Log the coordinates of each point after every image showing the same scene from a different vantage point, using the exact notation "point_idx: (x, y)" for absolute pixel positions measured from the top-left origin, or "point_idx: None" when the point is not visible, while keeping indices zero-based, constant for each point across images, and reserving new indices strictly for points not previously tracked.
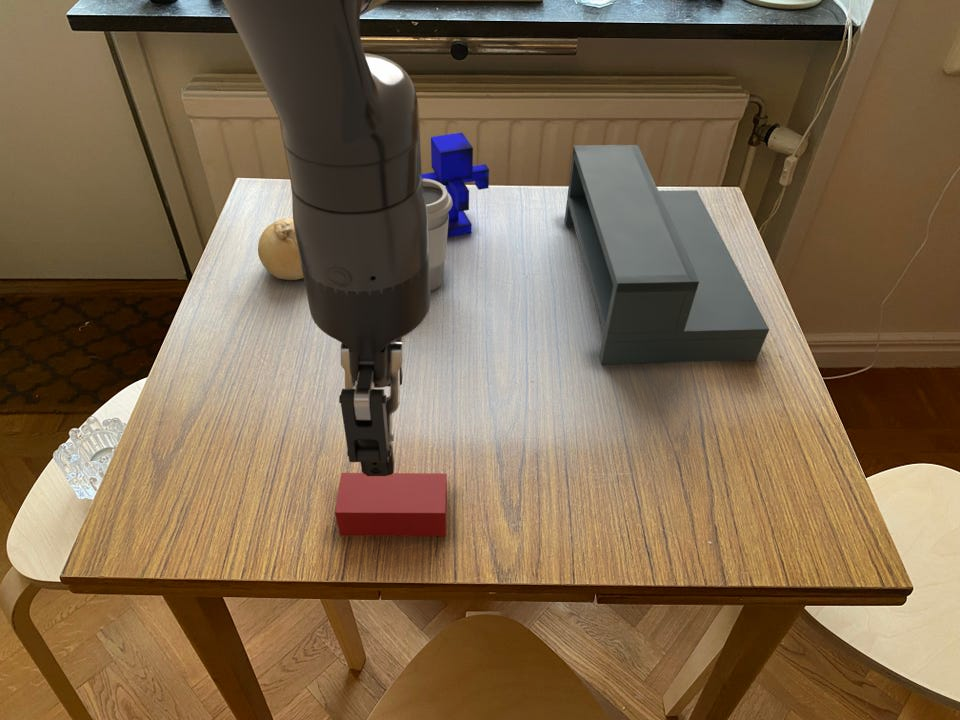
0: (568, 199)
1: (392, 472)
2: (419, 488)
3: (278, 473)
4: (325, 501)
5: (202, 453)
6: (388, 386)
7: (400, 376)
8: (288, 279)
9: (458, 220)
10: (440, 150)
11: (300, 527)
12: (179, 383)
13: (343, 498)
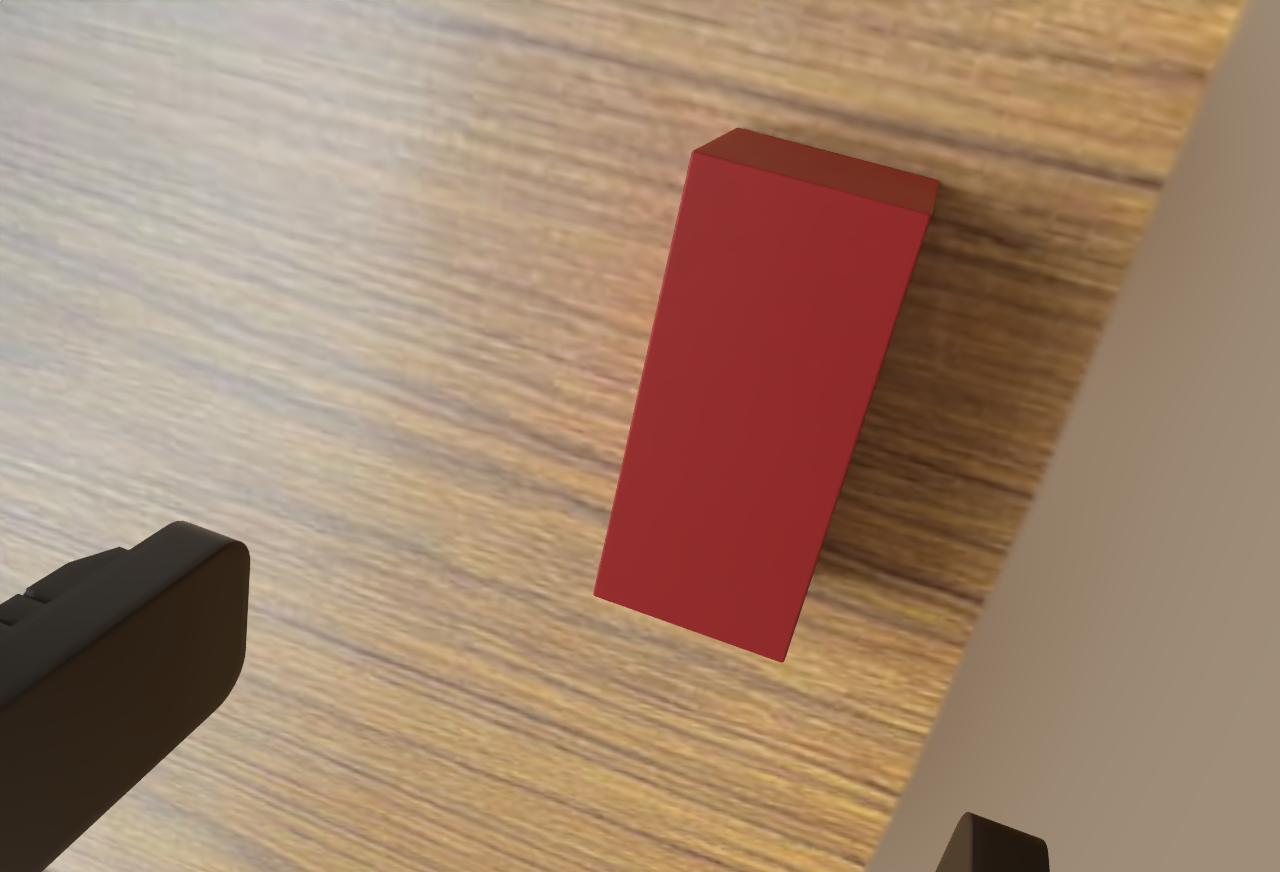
0: None
1: (1045, 852)
2: (750, 305)
3: (505, 696)
4: None
5: (400, 864)
6: (247, 607)
7: (179, 585)
8: None
9: None
10: None
11: (737, 683)
12: (145, 863)
13: (720, 617)
